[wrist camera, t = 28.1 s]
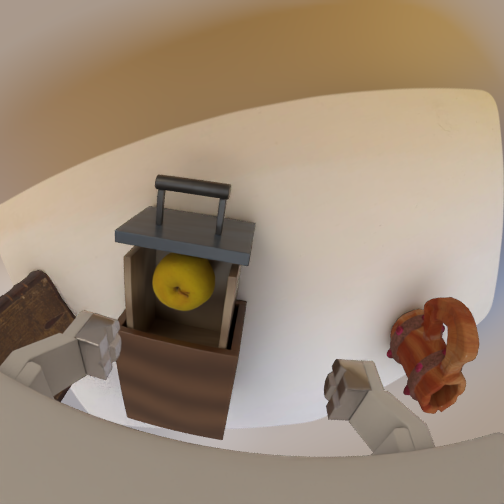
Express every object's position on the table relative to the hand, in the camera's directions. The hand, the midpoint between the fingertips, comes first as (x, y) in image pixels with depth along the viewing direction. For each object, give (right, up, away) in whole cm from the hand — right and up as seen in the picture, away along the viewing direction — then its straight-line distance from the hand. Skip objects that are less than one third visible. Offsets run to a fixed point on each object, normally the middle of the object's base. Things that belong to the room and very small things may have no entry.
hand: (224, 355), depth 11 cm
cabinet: (-8, -9, +32) cm, 34 cm away
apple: (-6, +2, +25) cm, 26 cm away
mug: (+24, -5, +28) cm, 37 cm away
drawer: (-6, +3, +26) cm, 26 cm away
